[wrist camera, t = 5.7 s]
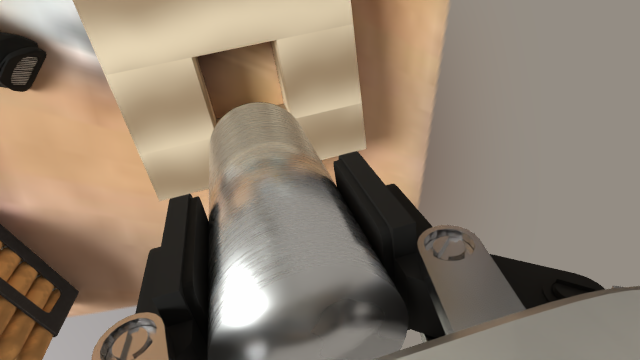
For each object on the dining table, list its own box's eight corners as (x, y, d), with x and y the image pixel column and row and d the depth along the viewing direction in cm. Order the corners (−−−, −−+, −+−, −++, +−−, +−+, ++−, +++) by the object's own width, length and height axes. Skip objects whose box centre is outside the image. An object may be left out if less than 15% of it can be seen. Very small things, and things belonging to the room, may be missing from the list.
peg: (196, 115, 15) (175, 309, 6) (296, 92, 15) (404, 242, 7) (224, 201, 17) (239, 436, 8) (312, 178, 17) (411, 376, 9)
